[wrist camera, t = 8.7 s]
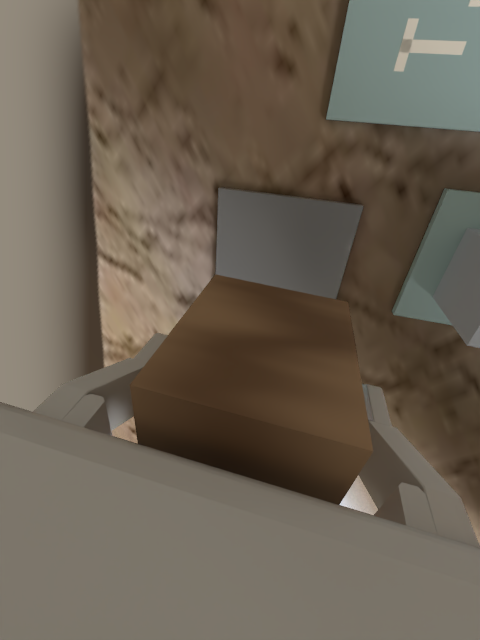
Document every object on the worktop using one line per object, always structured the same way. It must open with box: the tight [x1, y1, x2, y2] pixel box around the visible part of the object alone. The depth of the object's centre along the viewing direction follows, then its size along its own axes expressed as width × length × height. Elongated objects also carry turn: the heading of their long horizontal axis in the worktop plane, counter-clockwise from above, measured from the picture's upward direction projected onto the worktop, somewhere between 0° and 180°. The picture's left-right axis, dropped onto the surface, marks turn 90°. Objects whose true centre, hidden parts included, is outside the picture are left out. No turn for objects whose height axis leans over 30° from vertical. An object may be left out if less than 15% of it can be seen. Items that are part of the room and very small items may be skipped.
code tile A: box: [326, 0, 480, 132], centre depth 14 cm, size 9×9×1 cm
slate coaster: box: [216, 187, 363, 299], centre depth 23 cm, size 10×10×1 cm
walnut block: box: [130, 274, 373, 505], centre depth 10 cm, size 5×5×6 cm
